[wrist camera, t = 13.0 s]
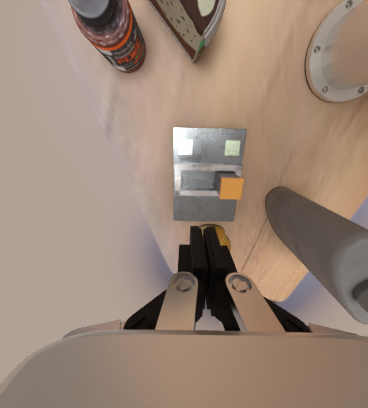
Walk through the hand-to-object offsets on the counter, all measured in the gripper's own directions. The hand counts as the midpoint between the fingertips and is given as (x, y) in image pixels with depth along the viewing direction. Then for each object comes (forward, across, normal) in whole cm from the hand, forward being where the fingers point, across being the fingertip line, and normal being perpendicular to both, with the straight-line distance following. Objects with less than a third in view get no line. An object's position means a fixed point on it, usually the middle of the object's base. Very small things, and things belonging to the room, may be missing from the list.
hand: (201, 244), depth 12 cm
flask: (+22, -20, +9) cm, 31 cm away
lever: (+20, -6, 0) cm, 21 cm away
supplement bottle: (+22, +10, -19) cm, 31 cm away
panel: (+22, -3, 0) cm, 22 cm away
